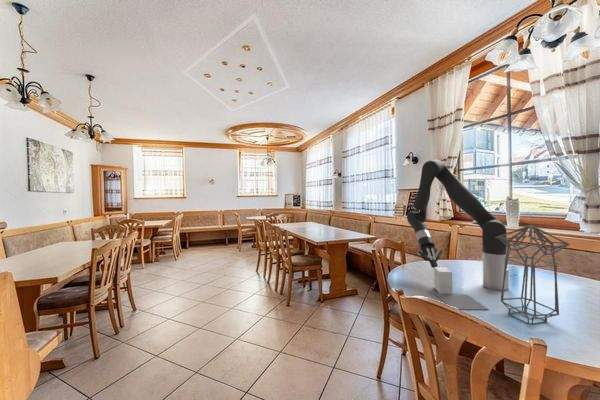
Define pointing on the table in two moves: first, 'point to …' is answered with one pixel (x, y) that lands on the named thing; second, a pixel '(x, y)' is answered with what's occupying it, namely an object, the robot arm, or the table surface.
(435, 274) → the small box
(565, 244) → the geometric lantern
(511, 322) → the table surface
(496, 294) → the table surface
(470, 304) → the mat
